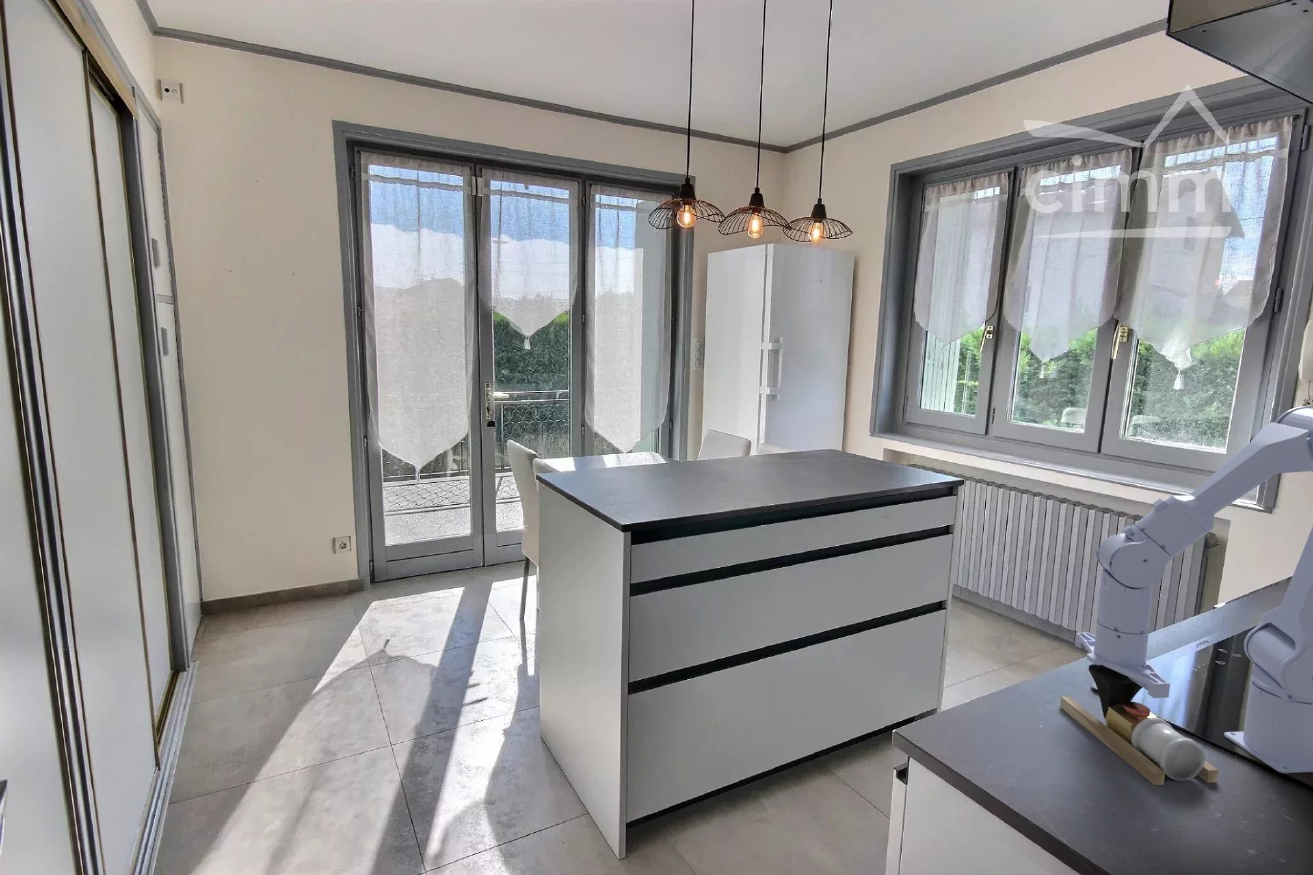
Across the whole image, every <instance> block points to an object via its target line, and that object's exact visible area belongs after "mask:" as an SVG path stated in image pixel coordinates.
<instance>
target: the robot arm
mask: <svg viewBox="0 0 1313 875" xmlns="http://www.w3.org/2000/svg"><path fill="white" fill-rule="evenodd" d="M1303 472H1312V473H1313V406H1312V405H1311V406H1310V405H1305V406H1304V405H1302V406H1297V407H1294V408H1291V409H1289V410H1286V411H1284V412H1283V413H1281V415H1279V417H1277V419H1276V420H1275V421H1274V422H1273V421H1272V422H1270V423H1269V424H1267V425H1265V426H1263V427H1262V428H1261V429H1260V430H1259V431H1258V433H1257V434H1256V435H1255V437H1254V438H1253V439H1252V440H1251V441H1250V442H1249V443H1248V444H1246V445H1245V447H1243V448H1242V449H1241V450H1240V451H1239V452H1237V453H1236V454H1235V455H1234V456H1233V457H1231V458H1230V459H1229V460H1228V461H1227V462H1225V464H1224V465H1222V466H1221V467H1220V468H1219V469H1218V470H1217V471H1215V472H1214V473H1213V474H1212V475H1210V477H1208V478H1207V479H1206V480H1205V481H1204V482H1202V483H1201V484H1200V485H1199V486H1198V487H1197V488H1196V489H1194V490H1193V491H1192V492H1191V493H1189V494H1183V495H1182V494H1181V495H1176V494H1175V495H1170V496H1169V497H1168V498H1167V499H1165V500H1164V498H1163V499H1162V498H1158V499H1157V500H1155V502H1153V503H1152V506H1153V507H1154V508H1153V509H1152V510H1151V511H1148V513H1147V514H1146V515H1144V516H1143V517H1141V519H1139V520H1138V521H1137V522H1135V523H1134V524H1132V525H1131V526H1130V525H1126V526H1125V527H1123V528H1122V529H1121V531H1122V532H1123V533H1119V534H1112V535H1111V536H1109V537H1107V538H1105V539H1104V540H1103V541H1102V542H1101V544H1100V546H1099V547H1100V548H1099V549H1096V551H1095V557H1096V560H1097V562H1098V563H1099V565H1100V566H1101V567H1102V568H1103V569H1101V579H1100V587H1099V595H1098V604H1097V616H1096V626H1095V628H1096V629H1095V634H1092V633H1090V632H1076V633H1075V637H1074V638H1075V640H1074V646H1075V647H1077V648H1078V649H1084V650H1086V651H1087V654H1086V659H1087V660H1088V661H1089V662H1090V663H1091V664H1089V665H1088V672H1089V673H1090V676H1091V677H1092V678H1093V681H1094V683H1095V686H1096V689H1097V692H1098V697H1099V701H1100V706H1101V709H1102V715H1103V719H1105V718H1106V714H1107V712H1108V709H1109V707H1113V706H1114V705H1117V704H1124V703H1125V702H1129V701H1130V702H1132V701H1133V699H1134V697H1135V696H1136V695H1137V694H1138V692H1140V691H1141V690H1142V689H1145V690H1146V691H1147V695H1149V697H1151V698H1152V699H1164V698H1165V699H1167V698H1169V697H1170V688H1171V683H1170V682H1169V681H1167V680H1166V679H1165V678H1164V677H1162V676H1161V675H1160V673H1159V672H1157V670H1156V669H1155V668H1154V667H1153V665H1151V663H1150V662H1149V661H1148V660H1147V652H1148V651H1147V650H1148V641H1149V640H1148V639H1149V634H1150V624H1151V623H1150V622H1151V613H1152V612H1151V611H1152V606H1153V604H1152V602H1153V590H1154V589H1153V588H1154V584H1155V583H1159V582H1160V581H1161V580H1162V579H1163V577H1164V575H1165V571H1166V566H1167V564H1168V563H1169V562H1170V561H1171V560H1173V559H1174V558H1176V557H1177V556H1179V555H1180V554H1181V553H1183V552H1184V551H1185V550H1187V549H1188V548H1189V547H1191V546H1192V545H1194V543H1196V542H1197V541H1199V540H1200V539H1202V538H1203V537H1205V536H1206V535H1207V534H1208V533H1210V532H1211V531H1213V529H1214V522H1215V521H1214V520H1215V515H1216V514H1217V513H1219V512H1220V511H1222V510H1224V509H1225V508H1227V507H1228V506H1229V505H1232V503H1234V502H1235V501H1237V500H1239V499H1241V498H1243V496H1245V495H1246V494H1248V493H1249V492H1250V491H1252V490H1254V489H1255V488H1257V487H1258V486H1259V485H1261V484H1263V483H1264V482H1266V481H1267V480H1269V479H1270V478H1272V477H1273V476H1275V475H1277V474H1288V473H1303ZM1302 549H1303V550H1302V552H1301V554H1300V557H1299V560H1298V562H1297V565H1296V566H1295V569H1294V572H1293V574H1292V577H1291V579H1290V582H1289V585H1288V586H1287V587H1288V588H1287V590H1286V592H1285V595H1284V597H1283V600H1282V602H1281V604H1280V605H1279V606H1277V607H1275V608H1272V609H1270V610H1267V611H1266V612H1265V613H1264V615H1263V617H1262V619H1261V621H1260V622H1259V624H1258V625H1256V626H1255V627H1254V628H1253V629H1251V630H1250V631H1249V632H1248V633H1247V634H1246V636H1245V638H1244V641H1243V650H1244V652H1245V655H1246V656H1247V657H1248V659H1249V660H1250V661H1251V662H1252V663H1253V664H1252V671H1251V672H1250V673H1251V674H1250V680H1249V688H1248V695H1247V704H1246V711H1245V717H1244V726H1243V731H1226V732H1224V734H1223V736H1224V737H1225V738H1227V739H1228V740H1229V741H1231V742H1232V743H1234V744H1236V746H1239V747H1240V748H1241V749H1243V750H1245V751H1246V752H1247V753H1249V754H1250V755H1252V756H1253V757H1255V758H1257V759H1258V760H1260V761H1262V762H1263V763H1265V764H1266V765H1267V766H1269V767H1271V768H1272V769H1274V770H1275V771H1277V772H1279V773H1281V774H1293V773H1294V774H1295V773H1297V774H1298V773H1313V526H1312V527H1311V529H1310V532H1309V534H1308V537H1307V540H1306V542H1305V545H1304V547H1303V548H1302Z"/></svg>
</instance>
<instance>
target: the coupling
mask: <svg viewBox="0 0 1313 875" xmlns="http://www.w3.org/2000/svg"><path fill="white" fill-rule="evenodd" d="M1157 717H1158V716H1156V717H1151V718H1147V719H1144V720H1143V721H1141V722H1140V723H1138V725H1137V726H1136V727H1135V728H1134V730H1133V732H1132V736H1131V741H1132V745H1133V747H1134V748H1135V749H1136V750H1138V751H1139V752H1140V753H1141V754H1143V755H1144V756H1145V757H1146V758H1148V759H1149V760H1150V761H1151V762H1153V763H1154V764H1155V765H1156V766H1158V767H1159V768H1160V769H1161V770H1163V771H1164V772H1165V776H1167V777H1169V779H1172V780H1173V781H1177V782H1178V781H1179V782H1183V781H1184V782H1185V781H1188V780H1191V779H1193V778H1195V777H1196V776H1198V775H1197V774H1198V773H1199V772H1200V771H1201V770H1202V768H1203V766H1204V763H1205V761H1206V754H1205V751H1204V749H1203V747H1202V745H1200V744H1199V743H1197V742H1196V741H1194V740H1193V739H1191V738H1188V737H1185V736H1184V735H1183V734H1180V733H1179V732H1177V730H1176V729H1175V730H1174V728H1173V726H1172V725H1171V724H1170V723H1169V722H1167V721H1166V720H1164V719H1163V718H1160V717H1158V718H1157Z"/></svg>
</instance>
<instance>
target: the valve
mask: <svg viewBox="0 0 1313 875" xmlns="http://www.w3.org/2000/svg"><path fill="white" fill-rule="evenodd" d="M1151 717H1157V718H1159V717H1158V716H1156V715H1155V714H1154V713H1152V712H1151V709H1150V708H1149V707H1148V706H1147V705H1145V704H1143V703H1141V702H1136V701H1131V702H1130V701H1129V702H1125V703H1124V704H1117V705H1114V706H1113V707H1109V709H1108V712H1107V714H1106V718H1104V720H1105V725H1106V726H1107V727H1109V728H1110V729H1111V730H1112V731H1114V732H1115V733H1116V734H1117V735H1119V736H1120V737H1121V738H1122V739H1124V740H1125V741H1126V742H1127V743H1129V744H1130V745H1131V746H1132V747H1133V745H1132V741H1131V736H1132V732H1133V730H1134V728H1135V727H1136V726H1137V725H1138V723H1140V722H1141V721H1143V720H1144V719H1147V718H1151Z"/></svg>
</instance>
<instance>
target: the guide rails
mask: <svg viewBox="0 0 1313 875" xmlns="http://www.w3.org/2000/svg"><path fill="white" fill-rule="evenodd" d="M1059 707H1060V708H1061V709H1062V711H1063V710H1064V711H1065V712H1066V713H1067V714H1068V715H1069V716H1070V717H1072V718H1073V719H1074V720H1075V721H1077V722H1078V723H1079V725H1081V726H1082V727H1083V728H1085V729H1086V730H1087V731H1088V732H1090V733H1091V734H1092V735H1093V736H1094V737H1096V738H1097V739H1098V740H1099V741H1100V742H1102V744H1104V745H1105V746H1107V748H1109V749H1110V750H1111V751H1113V753H1115V754H1116V755H1117V756H1119V758H1121V759H1122V760H1123V761H1124V762H1126V763H1127V764H1128V765H1129V766H1130V767H1131V768H1133V770H1135V771H1136V772H1138V773H1139V774H1140V775H1141V776H1142V777H1143V778H1145V779H1146V780H1147V781H1148V782H1149V783H1151V784H1152V785H1153V786H1163V785H1165V777H1166V774H1165V772H1164V771H1163V770H1162V769H1161V767H1160V766H1159V765H1157V764H1156V763H1155V762H1154V761H1152V760H1151V759H1150V758H1147V757H1145V756H1144V755H1143V754H1141V753H1140V752H1139V751H1138V750H1136V749H1135V748H1134V747H1132V746H1131V745H1130V744H1129V743H1127V742H1126V741H1125V740H1124V739H1122V738H1121V737H1120V736H1119V735H1117V734H1116V733H1115V732H1114V731H1112V730H1111V729H1110V728H1109V727H1107V724H1106V723H1103V722H1102V721H1101V720H1099V719H1098V717H1096V716H1095V715H1093V713H1091V712H1089V710H1087V709H1086V708H1085V707H1083V705H1081V704H1080V703H1078V702H1077V701H1075V699H1073V698H1072V697H1071V696H1070V695H1069V696H1068V695H1067V696H1060V706H1059ZM1218 774H1219V769H1218V768H1217V767H1215V766H1214V765H1212V764H1210V763H1209V762H1208V761H1206V760H1205V763H1204V766H1203V768H1202V770H1201V771H1200V772H1199V773H1198V774H1197V775H1196V776H1197V777H1199V778H1200V779H1201V780H1203V781H1204V782H1205V783H1206V784H1209V783H1217V782H1218V778H1219V776H1218Z"/></svg>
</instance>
